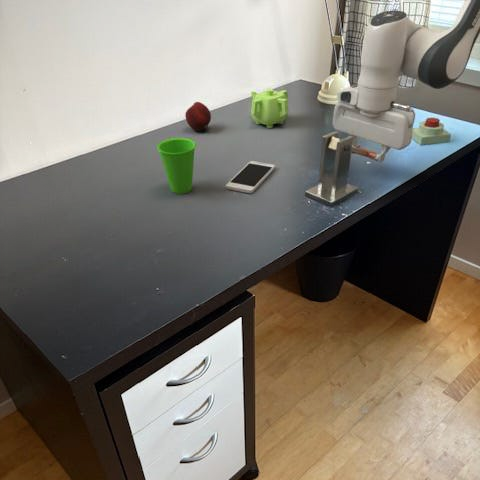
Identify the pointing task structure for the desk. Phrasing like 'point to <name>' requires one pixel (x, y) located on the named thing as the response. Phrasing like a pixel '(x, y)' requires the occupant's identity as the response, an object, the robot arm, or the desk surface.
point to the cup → (178, 163)
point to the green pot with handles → (269, 107)
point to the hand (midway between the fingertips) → (366, 156)
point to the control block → (430, 134)
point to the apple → (198, 116)
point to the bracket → (333, 172)
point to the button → (432, 122)
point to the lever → (353, 149)
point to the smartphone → (250, 177)
